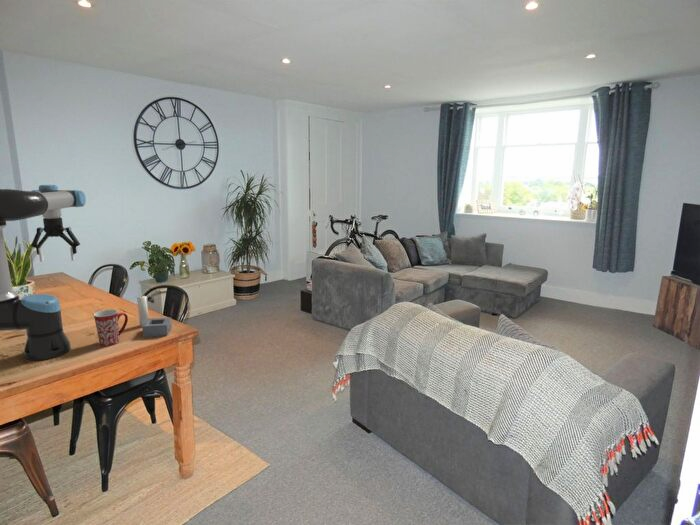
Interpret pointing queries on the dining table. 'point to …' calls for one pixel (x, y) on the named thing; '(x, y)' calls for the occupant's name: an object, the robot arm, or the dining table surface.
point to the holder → (157, 327)
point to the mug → (108, 326)
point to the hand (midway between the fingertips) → (58, 260)
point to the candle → (142, 309)
